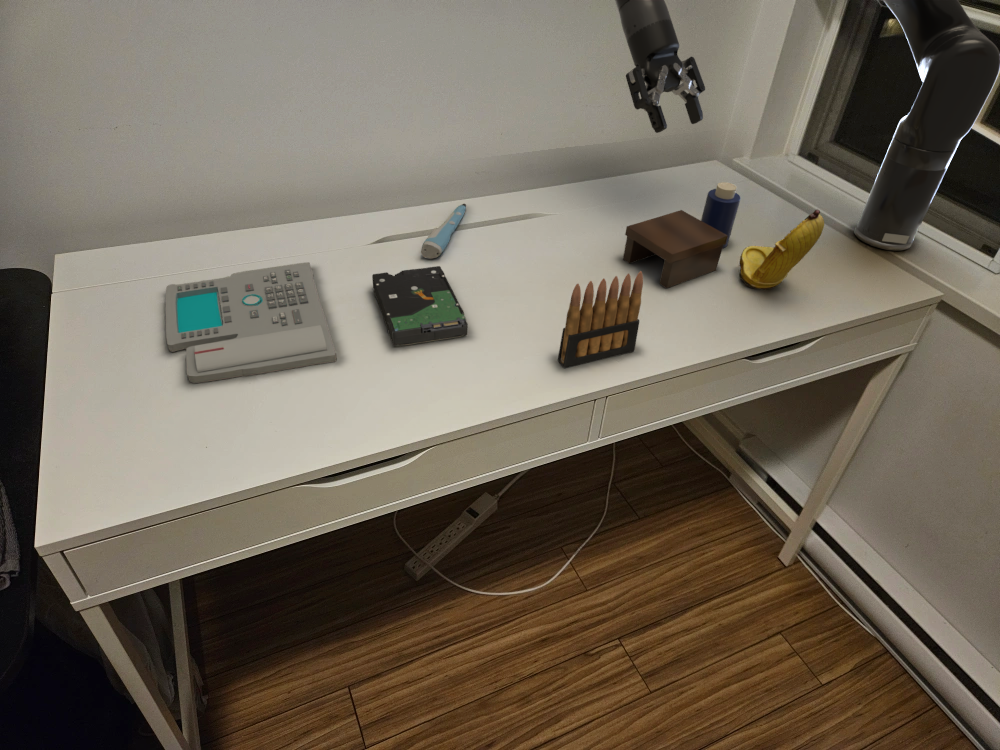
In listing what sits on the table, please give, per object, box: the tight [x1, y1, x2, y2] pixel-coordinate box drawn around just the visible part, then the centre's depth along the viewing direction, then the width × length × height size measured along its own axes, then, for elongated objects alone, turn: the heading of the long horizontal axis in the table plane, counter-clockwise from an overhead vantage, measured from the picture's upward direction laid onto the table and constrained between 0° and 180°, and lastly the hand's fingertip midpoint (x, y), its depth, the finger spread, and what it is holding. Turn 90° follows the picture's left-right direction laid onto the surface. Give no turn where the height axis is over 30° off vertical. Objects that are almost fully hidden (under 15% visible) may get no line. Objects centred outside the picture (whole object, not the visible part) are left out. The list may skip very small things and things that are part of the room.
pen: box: [420, 203, 467, 259], centre depth 115 cm, size 19×3×3 cm, turn 166°
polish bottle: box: [700, 181, 742, 250], centre depth 114 cm, size 5×5×10 cm
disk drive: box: [371, 265, 469, 347], centre depth 96 cm, size 10×3×15 cm
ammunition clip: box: [557, 270, 644, 369], centre depth 88 cm, size 11×2×12 cm, turn 113°
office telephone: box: [165, 261, 338, 384], centre depth 92 cm, size 23×3×20 cm
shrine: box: [738, 209, 825, 291], centre depth 103 cm, size 12×8×15 cm
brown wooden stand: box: [622, 209, 728, 289], centre depth 109 cm, size 12×10×6 cm
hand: (680, 126), depth 114 cm, fingers open, 8 cm apart
